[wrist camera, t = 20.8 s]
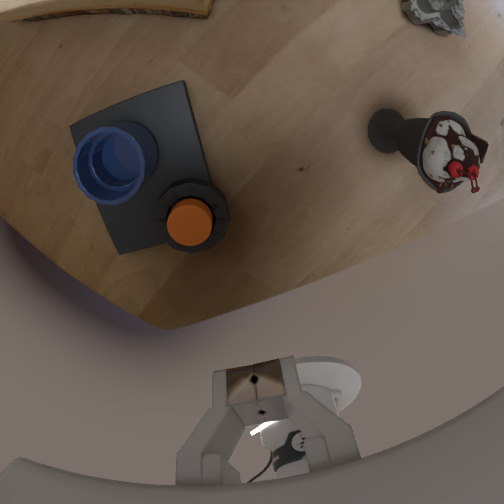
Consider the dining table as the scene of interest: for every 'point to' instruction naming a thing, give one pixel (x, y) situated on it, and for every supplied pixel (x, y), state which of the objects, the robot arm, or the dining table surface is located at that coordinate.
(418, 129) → the sundae
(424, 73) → the dining table surface
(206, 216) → the button
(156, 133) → the scale
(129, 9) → the book
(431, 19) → the egg carton
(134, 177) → the cup
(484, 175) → the dining table surface
